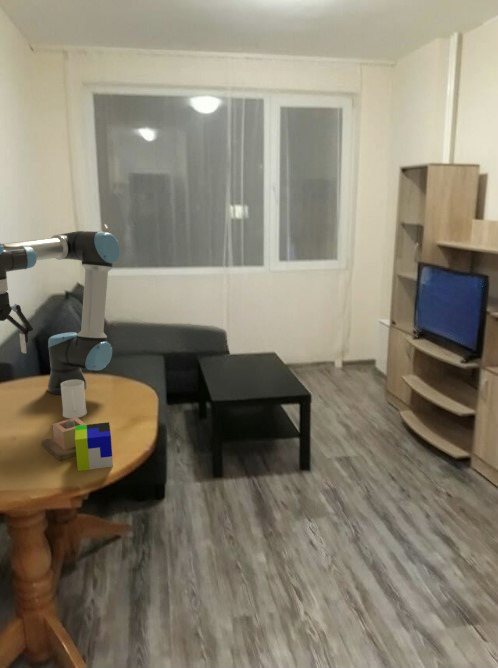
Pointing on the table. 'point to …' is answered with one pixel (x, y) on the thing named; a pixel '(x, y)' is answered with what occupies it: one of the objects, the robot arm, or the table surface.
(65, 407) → the mug
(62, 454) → the square plate with peg
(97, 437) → the puzzle toy
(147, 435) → the table surface
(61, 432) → the collar
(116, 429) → the table surface
